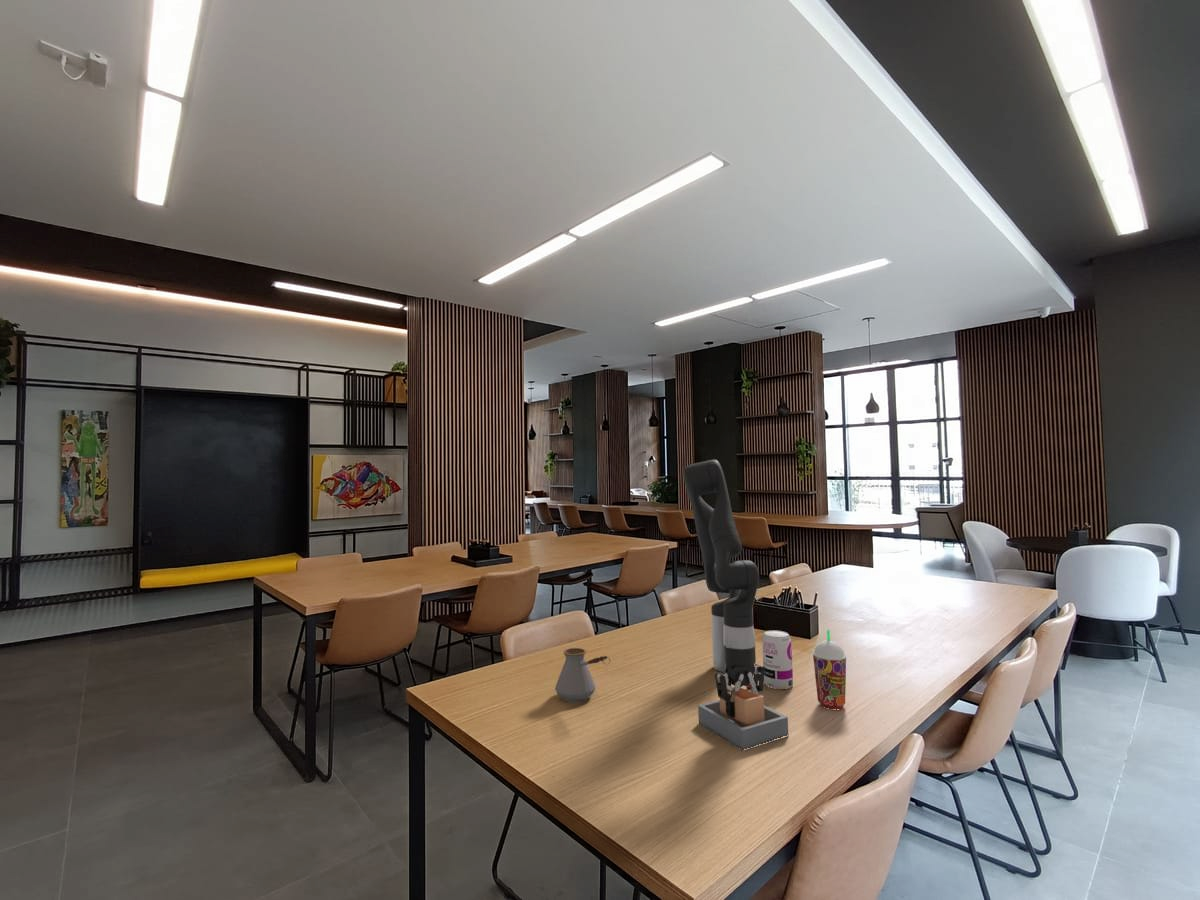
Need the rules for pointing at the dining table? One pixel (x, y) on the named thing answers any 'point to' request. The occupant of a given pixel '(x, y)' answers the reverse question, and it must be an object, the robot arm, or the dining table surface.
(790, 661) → the supplement can
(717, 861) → the dining table surface
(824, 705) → the smoothie
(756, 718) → the terracotta crate
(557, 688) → the coffee pot
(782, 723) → the grey crate
